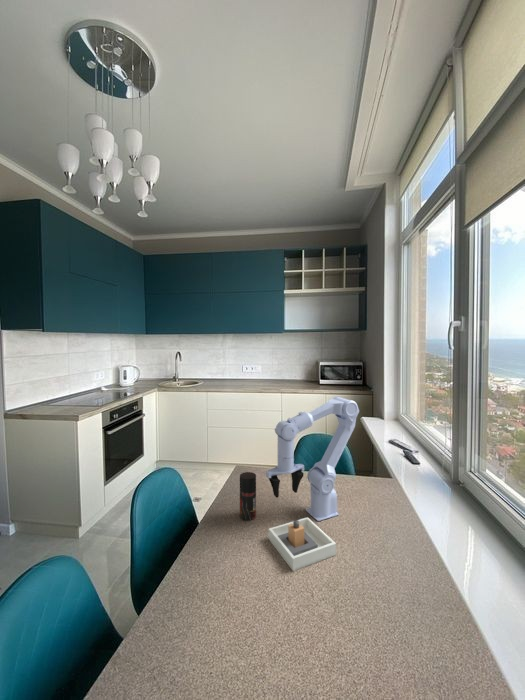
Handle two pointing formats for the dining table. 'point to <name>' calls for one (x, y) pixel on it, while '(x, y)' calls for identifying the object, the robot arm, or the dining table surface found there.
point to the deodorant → (247, 496)
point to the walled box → (307, 558)
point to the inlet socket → (307, 546)
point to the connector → (296, 534)
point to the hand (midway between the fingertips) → (285, 493)
